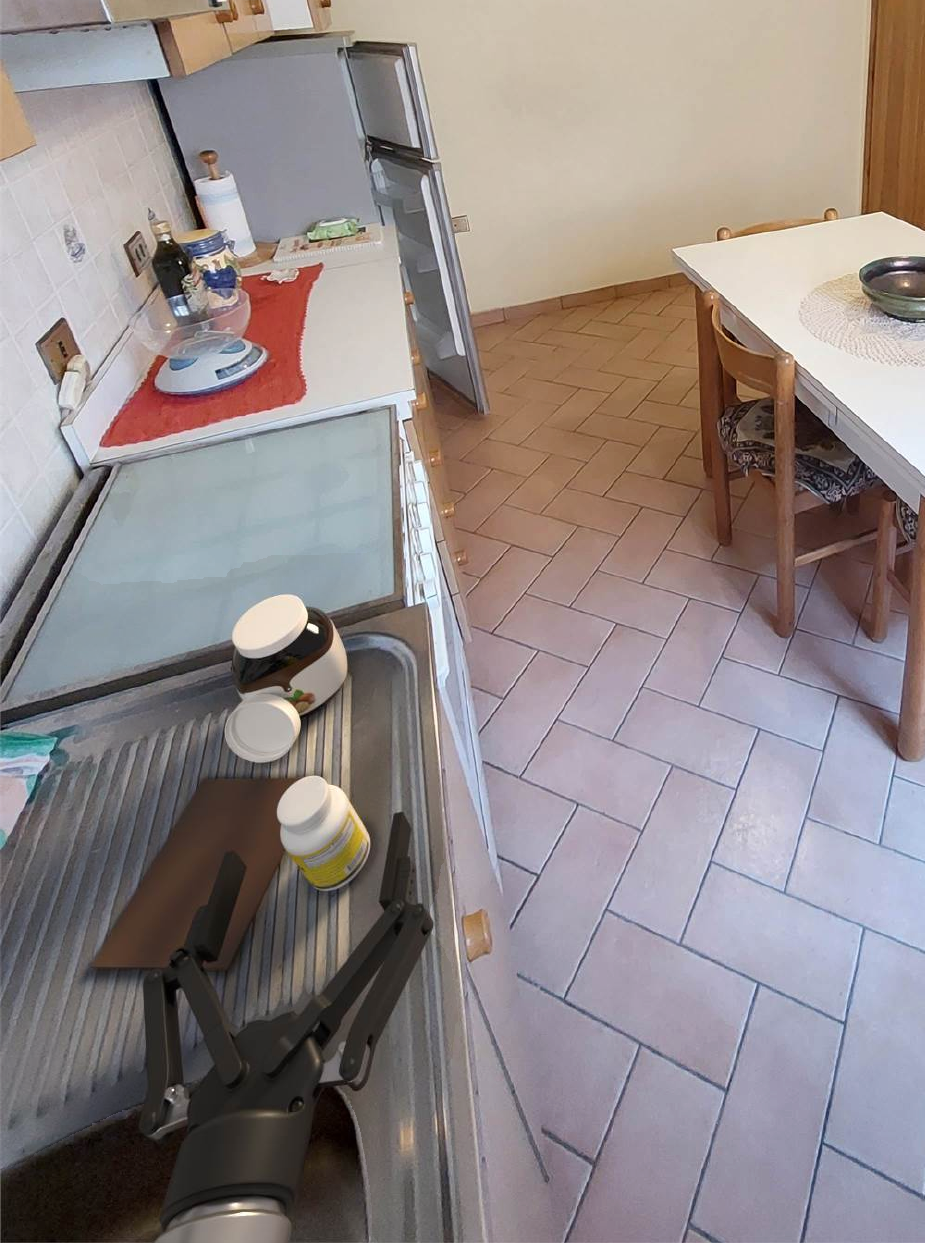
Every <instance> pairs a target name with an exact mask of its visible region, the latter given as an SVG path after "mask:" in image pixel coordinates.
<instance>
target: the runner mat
mask: <svg viewBox="0 0 925 1243" xmlns="http://www.w3.org/2000/svg"><path fill="white" fill-rule="evenodd" d="M302 778H303V777H280V778H279V777H273V778H271V777H270V778H269V777H267V778H266V777H265V778H264V777H263V778H203V779H202V780H201V782H200V783H199V785H198V787H197V788H196V790H195V792H194V793H193V795H192V796H191V799H190V800H189V802H188V803H187V805H186V806H185V808H184V809H183V811H182V813H181V815H180V816H179V818H178V820H177V821H176V823H175V825H174V826H173V828H172V829H171V832H170V833H169V835H168V836H167V838H166V840H165V842H164V843H163V845H162V846H161V848H160V849H159V852H158V853H157V855H156V856H155V858H154V860H153V862H152V863H151V865H150V866H149V868H148V870H147V871H146V873H145V875H144V877H143V878H142V880H141V882H139V885H138V887H137V888H136V890H135V891H134V893H133V894H132V897H131V898H130V900H129V902H128V903H127V905H126V907H125V908H124V910H123V911H122V913H121V915H120V917H119V918H118V920H117V921H116V923H115V925H114V927H113V928H112V930H111V932H110V933H109V934H108V937H107V938H106V940H105V942H104V943H103V945H102V947H101V948H100V950H99V951H98V952H97V955H96V957H95V958H94V960H93V962H92V963H91V965H90V968H91V969H92V970H149V971H151V970H153V969H155V968H160V969H163V968H164V967H166V966H168V965H169V963H168V960H169V957H170V955H171V954H172V953H173V952H174V950H176V949H177V948H179V947H181V946H184V943H185V940H186V937H187V934H188V932H189V930H190V926H191V924H192V920H193V918H194V915H195V913H196V912H197V910H198V909H199V907H200V906H204V905H207V904H208V901H209V898H210V895H211V893H212V890H213V887H214V884H215V881H216V878H217V875H218V872H219V869H220V866H221V864H222V861H223V858H224V855H225V852H229V851H234V850H235V851H236V852H237V854H238V855H239V857H240V858H241V859H242V861H243V862H244V863H245V865H246V866H247V869H246V872H245V876H244V879H243V882H242V885H241V888H240V891H239V895H238V898H237V901H236V904H235V907H234V910H233V914H232V917H231V920H230V923H229V926H228V929H227V933H226V936H225V939H224V942H223V945H222V948H221V951H220V955H219V958H218V961H214V962H210V963H207V962H206V961H205V960H204V963H203V967H204V969H205V971H230V970H231V968H232V966H233V964H234V961H235V960H236V957H237V955H238V953H239V951H240V949H241V947H242V945H243V942H244V941H245V938H246V936H247V934H248V933H249V930H250V927H251V925H252V923H253V921H254V919H255V917H256V915H257V912H258V910H259V908H260V906H261V904H262V902H263V900H264V898H265V895H266V894H267V891H268V889H269V887H270V884H271V883H272V880H273V878H274V876H275V874H276V872H277V869H278V868H279V866H280V863H281V861H282V859H283V856H284V855H285V853H286V849H285V848H284V846H283V844H282V842H281V837H280V830H281V823H280V822H279V820H278V817H277V807H278V804H279V801H280V799H281V797H282V796H283V794H284V793H285V792H286V791H287V789H288V788H289V787H290V786H291V785H293V784H294V783H295V782H297V781H298V780H300V779H302Z"/></svg>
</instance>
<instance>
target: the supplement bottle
mask: <svg viewBox="0 0 925 1243" xmlns="http://www.w3.org/2000/svg"><path fill="white" fill-rule="evenodd" d="M301 778H302V779H300V780H298V781H297V782H295V783H294V784H293V785H291V786H290V787H289V788H288V789H287V791H286V792H285V793H284V794H283V796H282V797H281V799H280V801H279V804H278V807H277V817H278V820H279V822H280V823H281V830H280V837H281V842H282V844H283V846H284V848H285V849H286V850H285V852H287V854H288V855H289V856H290V858H291V859H292V861H293V862H294V864H295V865H296V866H297V867H298V869H299V870H300V871H301V873H302V875H303V876H304V878H305V879H306V880H307V881H308V883H309V884H310V885H311V886H312V887H313V888H314V889H316V890H318V891H321V892H329V891H330V892H331V891H334V890H338V889H339V888H341V887H344V886H345V885H347V884H349V882H351V881H352V880H353V879H354V878H355V877H357V875H358V874H359V873H360V872H361V871H362V869H363V867H364V865H365V864H366V862H367V860H368V857H369V854H370V850H371V838H370V834H369V832H368V829H367V828H366V826H365V824H364V822H363V821H362V819H361V818H360V816H359V815H358V813H357V811H356V809H355V808H354V806H353V804H352V803H351V801H350V799H349V798H348V795H347V794H346V793H345V792H344V791H343V789H341V788H340V787H339V786H337V785H334V784H328V782H327V781H326V780H325V779H324V778H323V777H321V776H319V775H309V776H304V777H301Z"/></svg>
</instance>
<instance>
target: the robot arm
mask: <svg viewBox="0 0 925 1243" xmlns="http://www.w3.org/2000/svg"><path fill="white" fill-rule="evenodd" d="M392 815H393V817H392V820H391V821H392V822H391V828H390V834H389V840H388V845H387V850H386V856H385V862H384V869H383V874H382V881H381V886H380V892H379V898H378V903H379V905H380V906H381V908H382V910H383V912H382V913H381V915H380V916H379V917H378V919H377V920H376V922H375V923H374V924H373V925H372V926H371V928H370V929H369V931H368V932H367V933H366V935H365V936H364V937H363V938H362V939H361V941H360V942H359V943H358V945H357V946H356V948H355V949H354V950H353V951H352V952H351V954H350V956H349V957H348V958H347V959H346V961H345V962H344V964H343V965H342V966H341V967H340V968H339V969H338V971H337V972H336V973H335V975H334V976H333V978H332V979H331V980H330V981H329V983H328V984H327V985H326V987H324V989H323V990H322V992H320V994H318V995H315V996H314V997H313V998H312V999H310V1001H309V1003H308V1004H306V1006H305V1008H304V1009H303V1010H302V1011H301V1013H300V1014H299V1013H296V1012H295V1011H294V1010H292V1011H287V1012H284V1013H281V1014H279V1015H277V1016H276V1017H273V1018H272V1019H269V1020H268V1019H256V1020H252V1021H249V1022H247V1023H246V1026H245V1027H244V1028H243V1029H242V1030H239V1032H238V1033H237V1032H236V1030H235V1028H234V1026H233V1024H232V1022H231V1020H230V1019H229V1016H228V1014H227V1012H226V1010H225V1008H224V1006H223V1004H222V1002H221V1000H220V997H219V996H218V993H217V991H216V990H215V987H214V985H213V983H212V981H211V979H210V978H209V975H208V973H207V970H205V969H204V967H203V963H204V960H205V961H206V962H207V963H210V962H214V961H218V958H219V955H220V951H221V948H222V945H223V942H224V939H225V936H226V933H227V929H228V926H229V923H230V920H231V917H232V914H233V910H234V907H235V904H236V901H237V898H238V895H239V891H240V888H241V885H242V882H243V879H244V876H245V872H246V869H247V866H246V865H245V863H244V862H243V861H242V859H241V858H240V857H239V855H238V854H237V852H236V851H235V850H234V851H229V852H225V855H224V858H223V861H222V864H221V866H220V869H219V872H218V875H217V878H216V881H215V884H214V887H213V890H212V893H211V895H210V898H209V901H208V904H207V905H204V906H200V907H199V909H198V910H197V912H196V913H195V915H194V918H193V920H192V924H191V926H190V930H189V932H188V934H187V937H186V940H185V943H184V946H181V947H179V948H177V949H176V950H174V952H173V953H172V954H171V955H170V957H169V960H168V963H169V965H168V966H166V967H164V968H163V969H160V968H155V969H153V970H149V972H148V973H147V974H146V976H144V979H143V981H142V994H143V995H142V996H143V1016H144V1036H145V1054H146V1056H145V1057H146V1058H145V1059H146V1073H147V1074H146V1075H147V1091H146V1093H145V1098H144V1102H143V1107H142V1110H141V1114H140V1118H139V1122H138V1130H139V1132H140V1133H142V1134H143V1135H144V1136H146V1137H147V1138H148V1139H150V1140H151V1141H152V1142H154V1143H155V1144H157V1145H164V1144H165V1143H167V1142H168V1141H169V1140H170V1139H171V1138H172V1137H173V1134H174V1133H175V1131H177V1130H180V1129H182V1128H184V1127H187V1131H186V1136H185V1138H184V1139H183V1140H182V1143H181V1145H180V1147H179V1150H178V1152H177V1156H176V1159H175V1163H174V1166H173V1169H172V1173H171V1177H170V1180H169V1183H168V1186H167V1188H166V1189H167V1190H166V1193H165V1197H164V1199H163V1202H162V1206H161V1209H160V1212H159V1216H158V1222H159V1224H160V1228H161V1230H162V1233H161V1234H160V1235H159V1236H158V1237H157V1238H156V1239H155V1240H154V1241H153V1242H152V1243H290V1242H291V1241H290V1240H291V1236H292V1230H293V1225H292V1222H291V1221H290V1219H289V1218H288V1217H287V1216H288V1215H289V1213H290V1212H291V1211H292V1210H293V1207H294V1206H296V1204H297V1203H298V1200H299V1196H300V1190H301V1185H302V1180H303V1176H304V1170H305V1165H306V1160H307V1155H308V1149H309V1145H310V1139H311V1134H312V1127H313V1122H314V1121H313V1119H314V1113H315V1109H316V1105H317V1103H318V1101H319V1098H320V1097H321V1094H322V1092H323V1091H324V1089H326V1088H332V1087H341V1086H348V1087H349V1088H350V1089H351V1090H352V1092H359V1091H361V1090H362V1089H363V1088H364V1087H365V1086H366V1085H367V1083H368V1081H369V1078H370V1074H371V1069H372V1065H373V1061H374V1057H375V1052H376V1048H377V1045H378V1042H379V1040H380V1039H381V1036H382V1034H383V1032H384V1030H385V1028H386V1026H387V1024H388V1022H389V1020H390V1017H391V1016H392V1013H393V1011H394V1009H395V1008H396V1005H397V1003H398V1002H399V999H400V997H401V995H402V993H403V991H404V990H405V987H406V986H407V983H408V981H409V979H410V977H411V975H412V972H413V970H414V968H415V966H416V964H417V962H418V960H419V959H420V956H421V954H422V951H423V950H424V949H425V946H426V944H427V943H428V940H429V938H430V936H431V934H432V932H433V930H434V927H435V922H434V919H433V918H432V916H431V914H430V912H429V911H428V909H427V907H426V904H424V903H421V902H419V903H416V904H413V898H414V891H415V883H416V876H417V868H416V865H415V863H414V860H413V859H412V857H411V855H409V856H408V854H409V847H410V842H411V835H412V827H411V824H410V822H409V820H408V818H407V816H406V815H405V812H404V811H403V810H402V811H399V812H394V813H393V814H392ZM377 972H378V973H377ZM376 973H377V975H376ZM375 975H376V977H375V979H374V980H373V982H372V984H371V986H370V988H369V990H368V992H367V994H366V995H365V997H364V1000H363V1002H362V1003H361V1006H360V1007H359V1010H358V1011H357V1013H356V1015H355V1017H354V1020H353V1021H352V1023H351V1025H350V1028H349V1031H348V1034H347V1037H346V1039H345V1040H342V1041H341V1042H340V1043H339V1044H338V1045H337V1048H336V1051H335V1054H334V1055H333V1056H332V1058H331V1059H330V1060H328V1061H327V1060H326V1057H325V1055H324V1050H325V1049H326V1047H328V1045H329V1044H330V1043H331V1041H332V1039H333V1038H334V1036H335V1035H336V1034H337V1032H338V1031H339V1030H340V1027H341V1025H342V1022H343V1019H344V1017H345V1016H346V1014H347V1013H348V1011H350V1009H351V1008H352V1006H353V1005H354V1003H355V1002H356V1001H357V999H358V998H359V997H360V995H361V994H362V993H363V991H364V990H365V988H366V987H367V986H368V984H369V983H370V982H371V980H372V979H373V978H374V976H375ZM179 989H182V992H183V994H184V996H185V998H186V1001H187V1003H188V1006H189V1008H190V1009H191V1012H192V1014H193V1016H194V1018H195V1020H196V1023H197V1025H198V1027H199V1029H200V1031H201V1034H202V1037H203V1042H204V1044H205V1046H206V1048H207V1051H208V1053H209V1055H210V1057H211V1060H212V1062H213V1064H212V1065H213V1066H212V1067H211V1068H210V1069H209V1071H208V1072H207V1073H206V1075H205V1076H204V1078H203V1079H202V1080H201V1081H200V1083H199V1084H198V1085H197V1086H196V1088H195V1089H194V1091H193V1092H192V1094H191V1096H190V1091H189V1090H188V1089H186V1087H185V1086H184V1072H183V1071H184V1069H183V1056H182V1045H181V1034H180V1033H181V1032H180V1021H179V1011H178V1010H179V1009H178V996H177V991H178V990H179ZM317 1025H318V1026H317ZM316 1026H317V1027H316ZM315 1027H316V1028H315ZM314 1029H315V1030H314Z"/></svg>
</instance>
